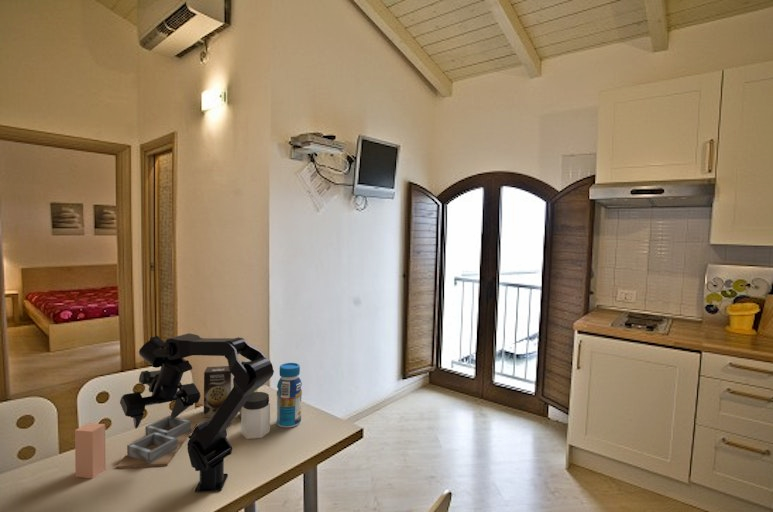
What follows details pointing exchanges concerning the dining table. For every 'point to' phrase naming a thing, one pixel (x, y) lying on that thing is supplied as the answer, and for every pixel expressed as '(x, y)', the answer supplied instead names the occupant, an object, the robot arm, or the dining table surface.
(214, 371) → the coffee box
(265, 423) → the jar
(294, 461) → the dining table surface
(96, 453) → the pink rectangular block
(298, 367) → the beverage bottle
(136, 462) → the cap board
